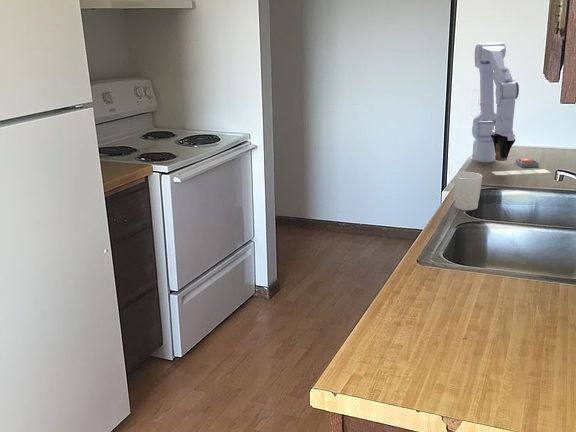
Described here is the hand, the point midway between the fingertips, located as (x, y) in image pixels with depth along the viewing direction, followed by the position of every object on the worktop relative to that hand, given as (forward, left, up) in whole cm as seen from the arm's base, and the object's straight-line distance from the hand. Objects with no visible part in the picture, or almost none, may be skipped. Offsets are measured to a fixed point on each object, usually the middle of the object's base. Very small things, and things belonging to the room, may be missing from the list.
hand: (501, 156), depth 216 cm
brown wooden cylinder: (0, 0, -1) cm, 1 cm away
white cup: (+31, -23, -7) cm, 39 cm away
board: (0, +7, -7) cm, 10 cm away
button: (-9, +14, -6) cm, 17 cm away
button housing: (-9, +13, -7) cm, 18 cm away
